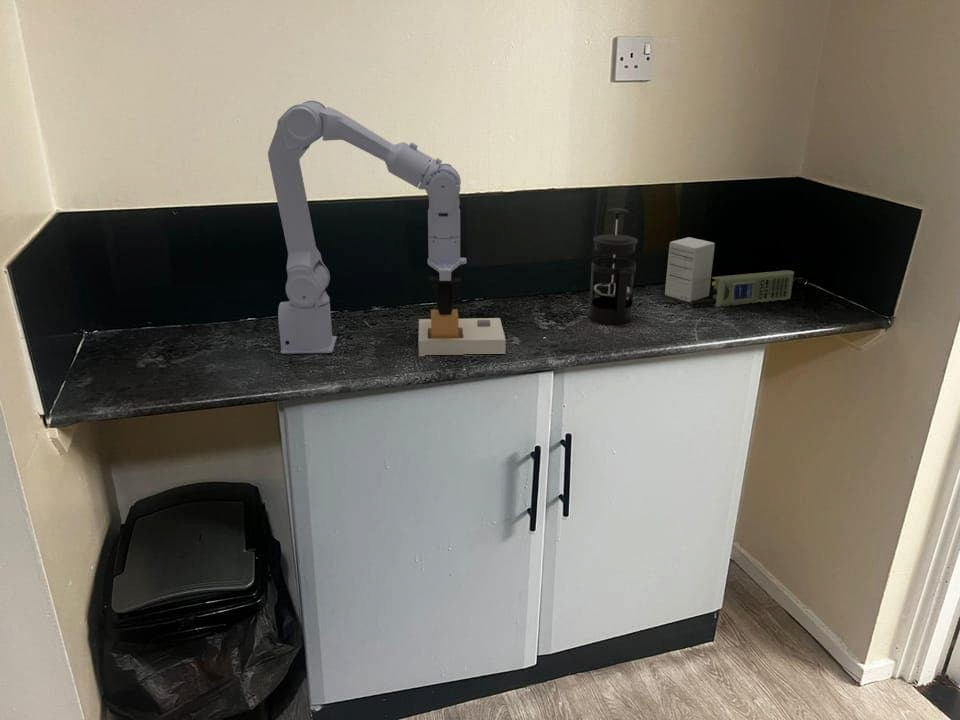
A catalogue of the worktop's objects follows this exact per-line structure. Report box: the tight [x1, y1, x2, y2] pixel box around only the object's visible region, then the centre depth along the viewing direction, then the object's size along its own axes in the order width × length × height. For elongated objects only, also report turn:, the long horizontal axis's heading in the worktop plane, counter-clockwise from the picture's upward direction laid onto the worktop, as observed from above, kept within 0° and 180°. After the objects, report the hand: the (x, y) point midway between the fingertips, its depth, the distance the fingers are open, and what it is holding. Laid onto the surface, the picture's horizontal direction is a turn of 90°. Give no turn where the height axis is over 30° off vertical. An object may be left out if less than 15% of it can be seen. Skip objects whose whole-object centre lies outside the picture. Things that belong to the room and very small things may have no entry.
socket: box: [418, 317, 507, 357], centre depth 148 cm, size 16×12×4 cm
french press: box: [587, 207, 639, 326], centre depth 158 cm, size 12×9×23 cm
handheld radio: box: [690, 269, 795, 308], centre depth 172 cm, size 7×3×25 cm
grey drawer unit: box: [664, 236, 716, 303], centre depth 175 cm, size 7×7×13 cm
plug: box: [430, 308, 459, 339], centre depth 145 cm, size 5×4×7 cm
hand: (444, 307), depth 144 cm, fingers open, 7 cm apart
